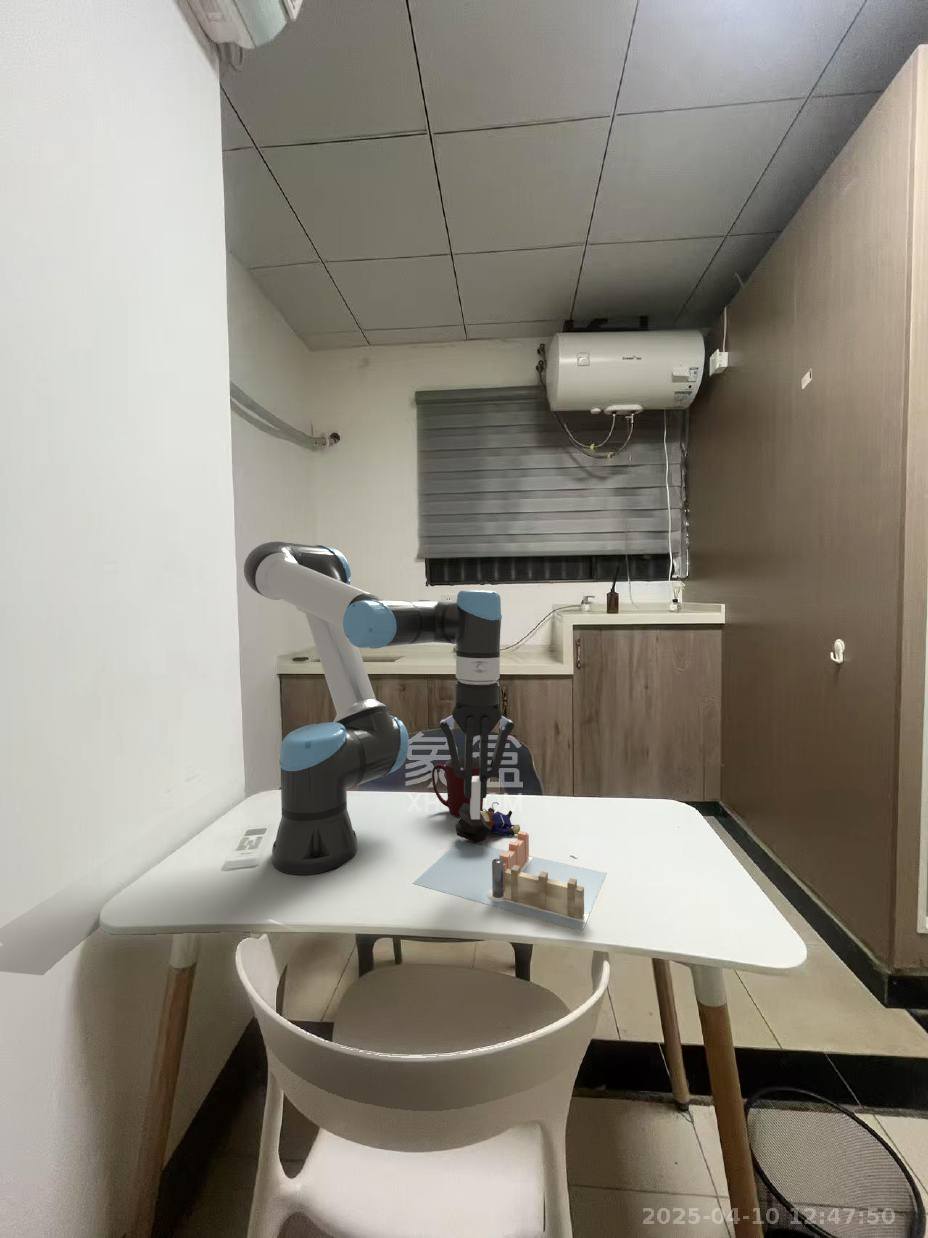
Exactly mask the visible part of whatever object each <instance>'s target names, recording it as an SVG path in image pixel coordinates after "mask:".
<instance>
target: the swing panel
mask: <svg viewBox="0 0 928 1238" xmlns="http://www.w3.org/2000/svg"><path fill="white" fill-rule="evenodd" d="M529 837H530V835H529V833H528V831H521V830H520V831H519V832H518V834H517V839H515V841H510V842H508V850H506V851H507V853H506V854H505V853H501V854H500V855H499V859H501V860H503V862H504V890H505V871H506V870H507V869H512V867H513V866H514V865H517V866H520V868H521V867H522V865H523V864H524V862H526V861H527V860H528V857H529V856H530V847H529V846H530V839H529Z"/></svg>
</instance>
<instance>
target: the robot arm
mask: <svg viewBox="0 0 928 1238" xmlns="http://www.w3.org/2000/svg"><path fill="white" fill-rule="evenodd" d="M243 574H244V575H243V576H244V578H245V580H246V582H247V585H248V586H249V587H250V588H251V590H253V591H254V592H255V593H257V594H259V595H261V596H263V597H265V598H266V599H270V600H273V601H279V600H280V601H281V600H283V601H284V602H286V603H288V604H290V605H293V606H295V609H296V610H297V611H299V612H301V613H303V614H305V617H306V619H307V623H308V627H309V629H310V632H311V635H312V639H313V642H314V645H315V649H316V652H317V654H318V655H317V656H318V659H319V660H320V661H319V662H320V664H321V668H322V671H323V674H324V677H325V681H326V684H327V686H328V689H329V693H330V697H331V700H332V702H333V706H334V709H335V712H336V716H335V718H334V720H333V721H332V722H331V721H329V722H328V721H327V722H326V721H325V722H319V723H311V724H307V725H304V726H301V727H299V728H296V729H295V730H291V732H289V733H288V734H287V735H285V737H284V738H283V740H282V741H281V744H280V758H279V762H278V763H279V767H280V796H281V797H280V799H281V804H280V805H281V818H280V822H279V825H278V828H277V833H276V836H275V837H276V838H275V841H274V842H273V845H272V848H271V862H272V865H273V867H274V868H275V869H276V870H278V871H280V872H283V873H285V874H290V875H300V876H301V875H302V876H303V875H313V874H314V875H315V874H319V873H324V872H329V871H331V870H335V869H336V868H337V869H338V868H339V867H341V866H344V865H345V864H347V863H348V862H350V861H351V860H352V859H353V858H354V856H355V855H356V854H357V853H358V852H357V851H358V839H357V833H356V831H355V830H354V829H353V825H352V821H351V818H350V815H349V811H348V806H347V804H348V800H347V799H348V798H347V797H348V794H347V792H348V791H347V790H348V789H351V788H354V787H356V786H359V785H361V784H365V783H367V782H370V781H373V780H376V779H378V778H379V779H381V778H384V777H385V776H388V775H389V774H391V773H393V772H396V771H397V770H399V769H400V768H401V767H402V765H404V763H405V762H406V759H407V755H408V753H409V750H410V741H409V740H410V739H409V734H408V730H407V728H406V725H405V724H404V723H403V721H402V720H399V718H398V717H396V716H393V715H390V714H389V711H388V708H387V705H386V704H384V703H382V702H380V701H378V700H377V699H376V695H375V692H374V689H373V687H372V683H371V681H370V678H369V675H368V672H367V669H366V666H365V663H364V660H363V657H362V654H361V652H360V649H362V648H364V649H367V648H368V649H373V650H375V649H381V648H385V647H386V648H388V647H394V646H404V645H416V644H427V643H428V644H431V643H438V644H439V643H440V644H452V645H456V646H455V647H456V648H455V650H456V655H455V678H456V679H457V681H456V682H455V693H454V694H455V701H454V702H455V703H454V705H455V706H454V708H453V709H452V711H451V715H449V716H447V717H446V718H442V719H440V721H439V726H440V727H439V728H440V729H441V731H442V732H443V733H444V735H445V737H446V738H445V739H446V741H447V747H448V750H449V756H450V759H451V760H452V765H453V769H454V774H455V776H456V777H461V778H463V779H464V795H465V798H470V816H471V819H480V798H483V799H486V798H487V794H488V793H487V790H488V780H489V779H491V778H496V777H498V775H499V771H500V767H501V764H502V760H503V757H504V752H505V749H506V746H507V741H508V738H509V736H510V734H511V733H512V731H513V730H514V728H515V724H514V722H513V721H512V719H511V718H506V717H505V716H503V715H502V714H503V713H502V711H501V709H500V683H499V682H498V680H500V677H501V676H500V672H501V671H500V669H501V668H500V667H501V665H500V663H501V647H500V646H501V628H502V620H503V618H502V617H503V615H502V609H501V607H502V602H501V601H502V600H501V595H500V594H499V592H497V591H494V590H460V591H459V592H458V593H457V597H456V601H443V600H442V601H441V600H430V599H429V600H428V599H425V600H424V599H420V600H391V599H390V600H389V599H385V598H383V597H380V596H378V595H374V594H372V593H370V592H367V591H365V590H363V589H360V588H358V587H355V586H353V585H351V582H352V581H351V580H350V578H351V576H352V572H351V567H350V564H349V562H348V560H347V558H346V557H345V555H344V554H343V553H342V552H340V551H339V550H337V549H336V548H334V547H333V548H332V547H327V546H325V545H321V544H318V545H317V544H316V545H310V544H301V543H300V544H299V543H295V542H294V543H292V542H284V541H269V542H265V543H262V544H260V545H258V546H257V547H255V548H253V549H252V550H251V551H250V552H249V554H248V555H247V557H246V559H245V561H244V565H243ZM455 722H456V724H457V725H458V727H459V729H460V730H461V732H462V733H463V734H464V757H465V763H464V768H461V766H460V762H459V758H458V757H459V754H458V753H459V752H458V750H457V745H456V740H455V737H454V732H453V730H455V725H454V723H455ZM498 723H499V724H498ZM497 725H498V729H499V730H498V731H499V732H498V735H497V738H496V741H495V746H494V750H493V753H492V758H491V760H490V761H491V762H490V765H489V763H488V761H489V760H488V758H489V757H488V756H489V755H488V754H489V734H490V733H491V732H492V731H493V730H494V729H495V727H496V726H497ZM474 736H479V752H478V753H479V755H478V756H479V757H478V758H479V776H472V763H473V757H474V754H473V753H474V750H473V749H474ZM488 765H489V767H488Z"/></svg>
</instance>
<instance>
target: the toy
mask: <svg viewBox="0 0 928 1238" xmlns="http://www.w3.org/2000/svg"><path fill="white" fill-rule="evenodd" d="M494 804H497V805H500V803H499V802H497V801H495V802H492V804H491V807H489V808H488V809H487V810H486V809H485V808H483V809H480V819H471V816H470V805H468V804H466V803H463V805H462V806H461V808H460V809H459V811H458V813H459V815H460V818H459V819H458V821H456V823H455V831H456V832H455V833H456V836H458V837H460V838H463V839H465V840H467V841H468V842H470V843H475V844H479V843H481V842H485V841H486V839H487V838H488V836H489V835H490V833H491V834H492V833H497V834H500V835H505V836H511V837H515V836H516V835H518V832H519V831H521V825H520V824H512V822H511V821H512V820H511V818H512V814H513V811H512V810H509V811H508V813H507V814H504V813H503V812H500V811H496V812H495V810H496V809H495V808H494Z"/></svg>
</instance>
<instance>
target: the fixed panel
mask: <svg viewBox="0 0 928 1238" xmlns="http://www.w3.org/2000/svg"><path fill="white" fill-rule="evenodd" d="M505 898H507V899H511V900H512V901H516V902H522V903H526V904H529V905H533V906H537V907H539V908H542V909H548V910H552V911H555V912H559V913H563V914H567V915H568V916H572V917H578V918H581V919H582V918H583V916H584V887H581V886H577V879H573V878H570V879H569V881H568V883H565V882H561V881H557V880H552V879H548V873H547V872H543V871H541V873H540V874H539V876H536V875H532V874H527V873H523V872H521V869H520V866H517V865H514V866H513V867H512V869H507V870H506V871H505Z"/></svg>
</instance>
